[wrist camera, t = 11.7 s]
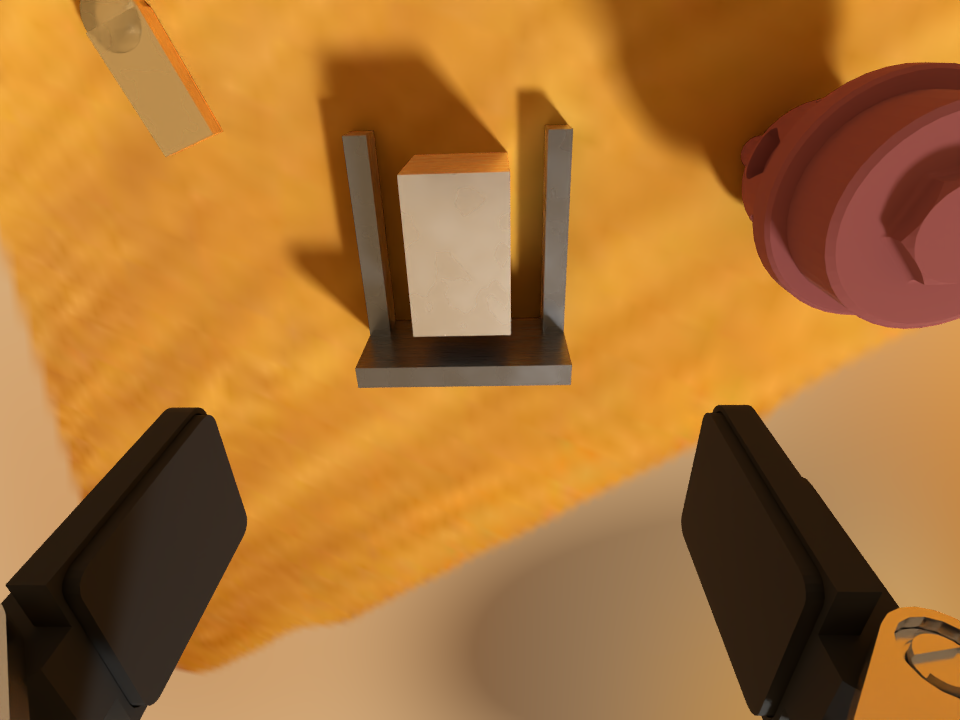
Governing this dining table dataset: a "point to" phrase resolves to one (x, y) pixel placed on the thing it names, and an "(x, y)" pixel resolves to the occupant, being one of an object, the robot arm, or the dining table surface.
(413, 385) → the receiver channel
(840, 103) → the mechanical component
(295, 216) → the dining table surface
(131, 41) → the brass key tag
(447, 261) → the aluminium block
